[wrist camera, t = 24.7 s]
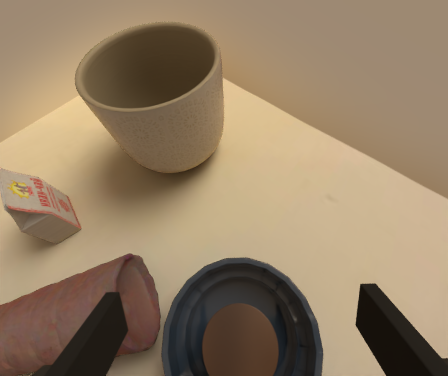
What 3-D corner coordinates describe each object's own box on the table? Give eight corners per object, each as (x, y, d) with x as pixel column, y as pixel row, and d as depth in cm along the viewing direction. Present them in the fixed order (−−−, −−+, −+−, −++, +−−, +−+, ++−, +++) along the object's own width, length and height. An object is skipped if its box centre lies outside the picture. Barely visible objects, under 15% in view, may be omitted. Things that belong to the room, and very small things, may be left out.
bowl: (293, 265, 28) (304, 255, 23) (318, 418, 22) (342, 453, 16) (182, 269, 29) (169, 260, 24) (173, 418, 22) (152, 452, 17)
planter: (153, 205, 34) (96, 138, 21) (118, 135, 41) (60, 52, 28) (247, 154, 37) (250, 68, 24) (199, 97, 45) (181, 8, 31)
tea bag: (56, 244, 32) (-13, 219, 23) (45, 209, 35) (-21, 176, 26) (81, 229, 33) (23, 199, 24) (67, 196, 36) (11, 159, 27)
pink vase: (152, 260, 30) (121, 243, 22) (166, 341, 26) (134, 354, 18) (-15, 319, 28) (-113, 322, 20) (-31, 418, 23) (-166, 472, 16)
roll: (262, 305, 26) (273, 302, 17) (268, 364, 23) (284, 396, 15) (215, 306, 26) (202, 304, 18) (216, 365, 24) (200, 397, 15)
